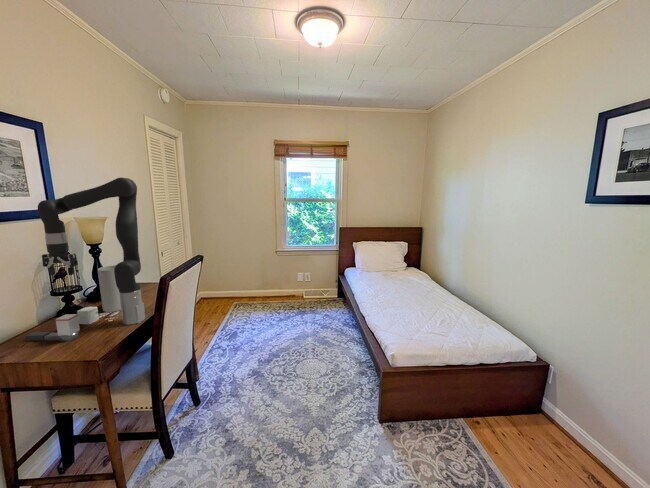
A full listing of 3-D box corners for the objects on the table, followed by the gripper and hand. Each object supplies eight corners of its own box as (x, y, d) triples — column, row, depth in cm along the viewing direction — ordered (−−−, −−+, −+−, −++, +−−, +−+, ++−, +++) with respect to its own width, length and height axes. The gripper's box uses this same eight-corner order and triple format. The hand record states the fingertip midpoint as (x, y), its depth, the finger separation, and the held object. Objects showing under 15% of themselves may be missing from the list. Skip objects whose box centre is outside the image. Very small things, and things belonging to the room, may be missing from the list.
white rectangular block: (80, 329, 133) (77, 314, 132) (70, 335, 128) (67, 319, 127) (68, 330, 133) (65, 314, 132) (57, 335, 128) (55, 319, 126)
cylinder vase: (112, 313, 158) (107, 271, 154) (97, 310, 162) (92, 269, 158) (134, 305, 170) (129, 266, 166) (119, 303, 174) (114, 264, 170)
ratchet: (82, 334, 134) (80, 322, 133) (71, 341, 128) (69, 328, 127) (36, 335, 133) (34, 323, 132) (22, 342, 127) (20, 329, 126)
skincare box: (89, 324, 145) (87, 311, 144) (78, 324, 146) (76, 310, 144) (99, 319, 151) (97, 306, 150) (88, 319, 152) (87, 306, 150)
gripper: (78, 240, 137) (83, 272, 140) (48, 240, 136) (53, 272, 139) (65, 243, 130) (70, 277, 132) (33, 243, 129) (39, 277, 132)
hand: (62, 274), depth 136 cm, fingers open, 8 cm apart
